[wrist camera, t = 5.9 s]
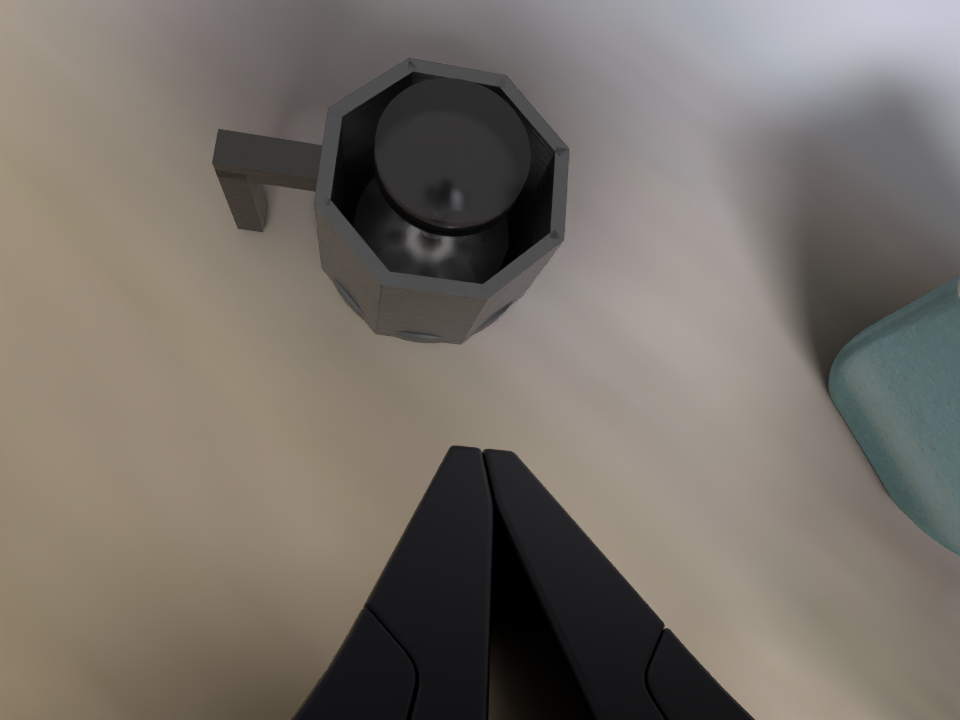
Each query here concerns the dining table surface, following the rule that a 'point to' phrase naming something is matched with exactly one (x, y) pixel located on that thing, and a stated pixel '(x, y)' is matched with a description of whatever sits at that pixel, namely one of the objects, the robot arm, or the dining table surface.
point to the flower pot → (909, 407)
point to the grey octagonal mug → (347, 172)
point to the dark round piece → (444, 181)
